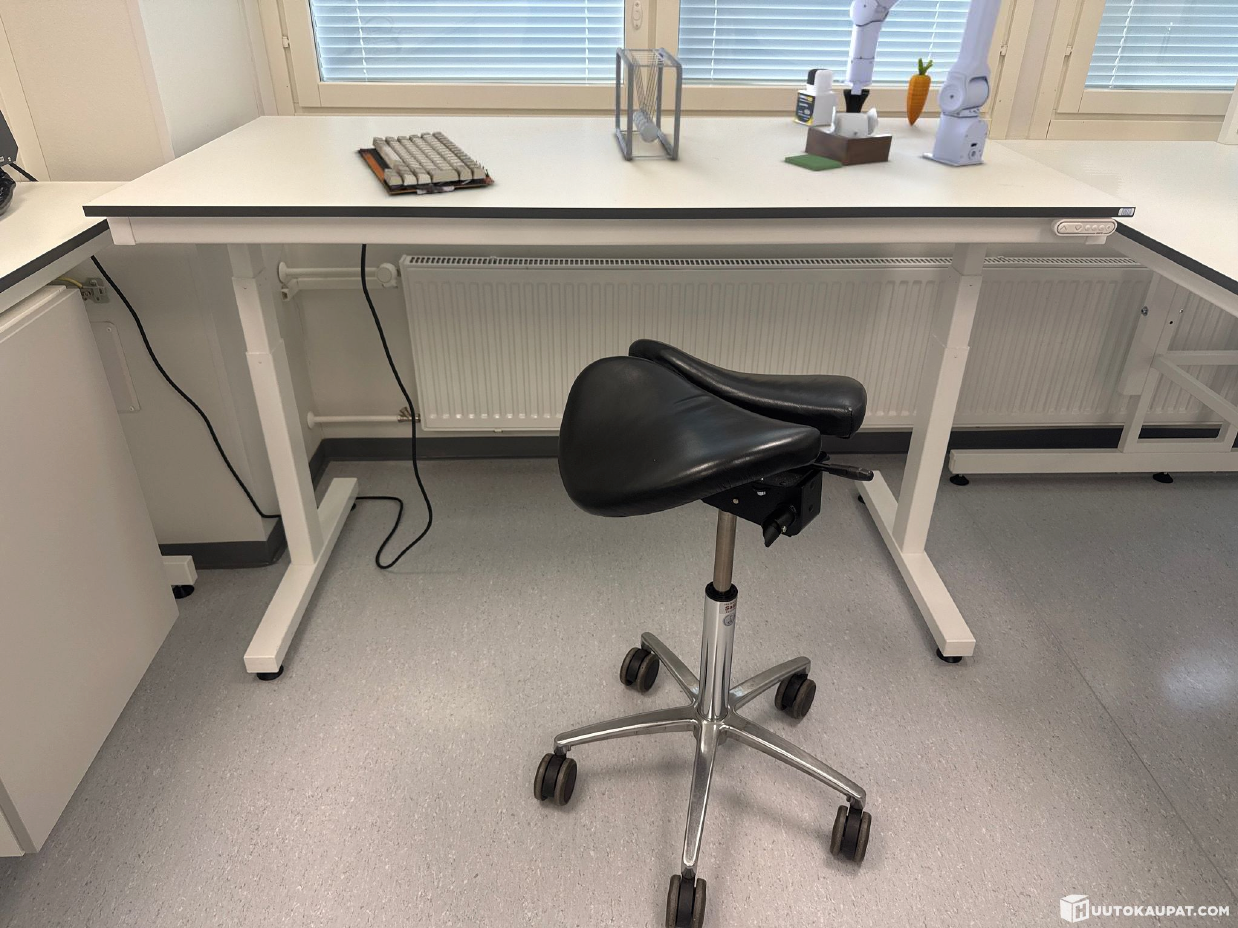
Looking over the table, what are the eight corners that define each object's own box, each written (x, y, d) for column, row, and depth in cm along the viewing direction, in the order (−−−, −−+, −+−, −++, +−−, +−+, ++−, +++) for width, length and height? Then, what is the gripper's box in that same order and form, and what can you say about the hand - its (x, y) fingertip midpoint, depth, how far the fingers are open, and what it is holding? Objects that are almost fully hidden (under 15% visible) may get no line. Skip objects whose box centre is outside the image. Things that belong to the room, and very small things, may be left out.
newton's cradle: (678, 162, 164) (683, 64, 155) (626, 162, 164) (628, 64, 154) (659, 132, 189) (663, 46, 180) (614, 132, 189) (615, 46, 179)
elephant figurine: (861, 145, 181) (869, 101, 176) (876, 157, 171) (884, 111, 166) (818, 144, 181) (825, 101, 176) (830, 156, 171) (837, 111, 166)
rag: (841, 166, 163) (842, 162, 163) (815, 171, 160) (816, 166, 160) (809, 157, 170) (810, 153, 169) (784, 161, 166) (784, 157, 166)
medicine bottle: (793, 121, 203) (800, 68, 196) (817, 119, 206) (824, 66, 199) (811, 126, 198) (818, 72, 191) (834, 124, 200) (842, 70, 194)
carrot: (919, 124, 203) (933, 56, 194) (923, 127, 198) (938, 59, 190) (899, 123, 203) (912, 56, 195) (903, 127, 199) (916, 58, 191)
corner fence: (887, 161, 168) (892, 135, 165) (843, 165, 164) (847, 139, 161) (847, 148, 178) (851, 123, 175) (804, 152, 174) (808, 127, 171)
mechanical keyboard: (356, 151, 168) (354, 134, 166) (448, 145, 174) (447, 128, 173) (391, 199, 139) (388, 178, 137) (499, 189, 146) (498, 170, 144)
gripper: (844, 53, 183) (834, 117, 191) (841, 60, 172) (831, 129, 179) (876, 54, 182) (865, 119, 189) (876, 62, 170) (864, 131, 178)
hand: (851, 124), depth 184 cm, fingers closed
